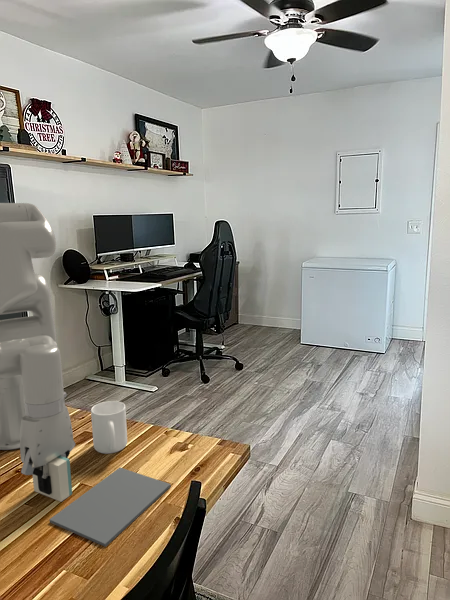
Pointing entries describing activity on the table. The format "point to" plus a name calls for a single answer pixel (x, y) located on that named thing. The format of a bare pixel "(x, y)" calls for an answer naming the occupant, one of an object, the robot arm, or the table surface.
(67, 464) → the cream and teal block
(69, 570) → the table surface
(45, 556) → the table surface
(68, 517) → the mat
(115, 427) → the mug
